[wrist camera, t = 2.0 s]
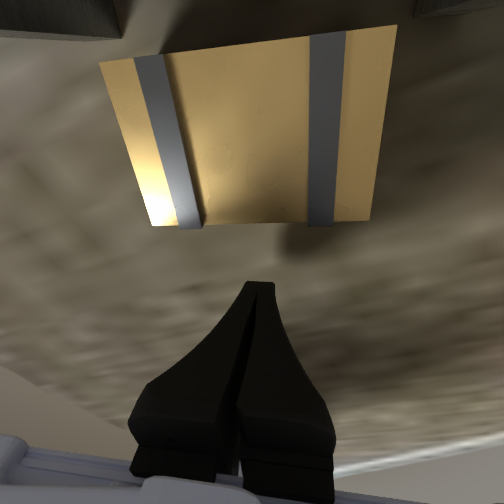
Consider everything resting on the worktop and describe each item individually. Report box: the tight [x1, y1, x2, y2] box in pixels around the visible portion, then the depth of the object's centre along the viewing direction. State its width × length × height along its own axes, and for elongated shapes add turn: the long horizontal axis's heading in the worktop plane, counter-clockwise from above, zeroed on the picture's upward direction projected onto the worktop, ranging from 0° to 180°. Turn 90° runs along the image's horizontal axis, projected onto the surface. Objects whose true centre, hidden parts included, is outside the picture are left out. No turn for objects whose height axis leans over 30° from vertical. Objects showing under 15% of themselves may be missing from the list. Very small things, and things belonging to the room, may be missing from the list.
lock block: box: [99, 25, 397, 229], centre depth 10 cm, size 5×8×4 cm, turn 96°
